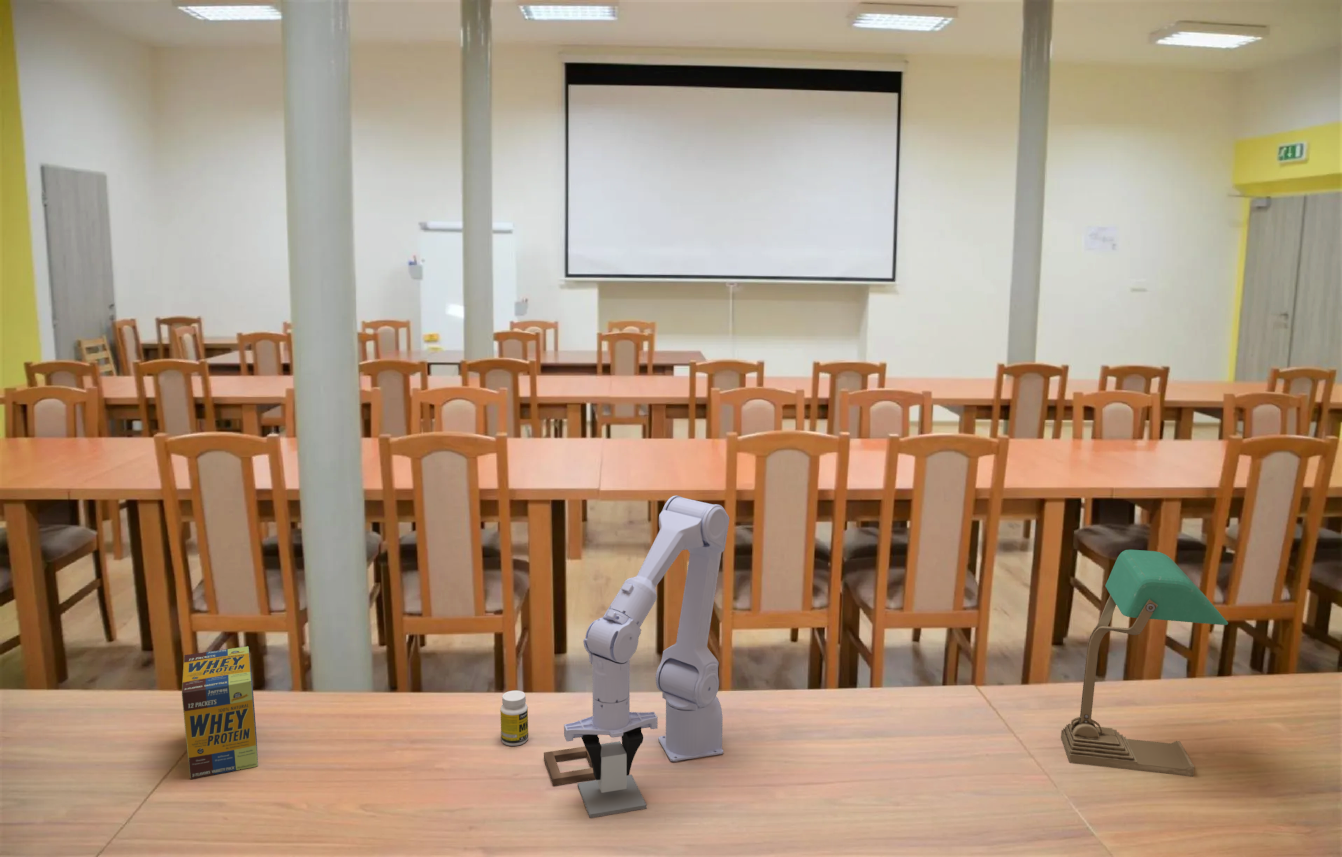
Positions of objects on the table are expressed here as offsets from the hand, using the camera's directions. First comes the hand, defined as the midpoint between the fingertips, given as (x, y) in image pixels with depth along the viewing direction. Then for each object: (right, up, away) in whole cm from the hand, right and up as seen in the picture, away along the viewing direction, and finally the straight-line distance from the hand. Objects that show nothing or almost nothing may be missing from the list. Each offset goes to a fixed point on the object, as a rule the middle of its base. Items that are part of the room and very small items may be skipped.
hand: (611, 774), depth 157 cm
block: (0, -2, +1) cm, 2 cm away
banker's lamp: (+88, -2, +14) cm, 89 cm away
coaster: (0, -4, +1) cm, 4 cm away
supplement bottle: (-18, 0, +18) cm, 25 cm away
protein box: (-67, -1, +13) cm, 68 cm away
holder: (-7, -2, +9) cm, 11 cm away
